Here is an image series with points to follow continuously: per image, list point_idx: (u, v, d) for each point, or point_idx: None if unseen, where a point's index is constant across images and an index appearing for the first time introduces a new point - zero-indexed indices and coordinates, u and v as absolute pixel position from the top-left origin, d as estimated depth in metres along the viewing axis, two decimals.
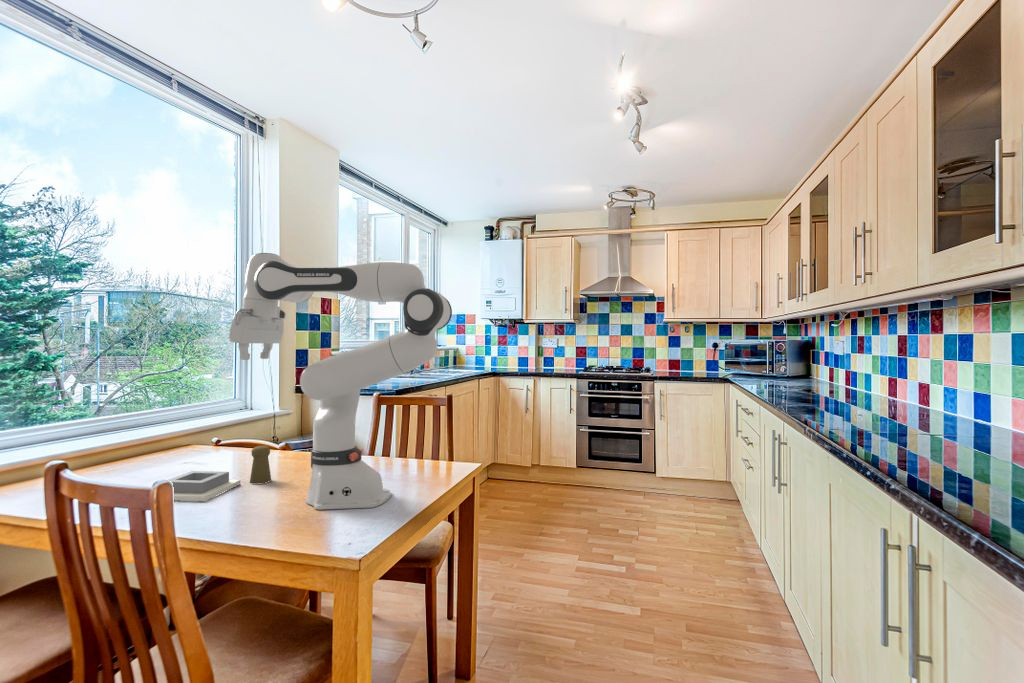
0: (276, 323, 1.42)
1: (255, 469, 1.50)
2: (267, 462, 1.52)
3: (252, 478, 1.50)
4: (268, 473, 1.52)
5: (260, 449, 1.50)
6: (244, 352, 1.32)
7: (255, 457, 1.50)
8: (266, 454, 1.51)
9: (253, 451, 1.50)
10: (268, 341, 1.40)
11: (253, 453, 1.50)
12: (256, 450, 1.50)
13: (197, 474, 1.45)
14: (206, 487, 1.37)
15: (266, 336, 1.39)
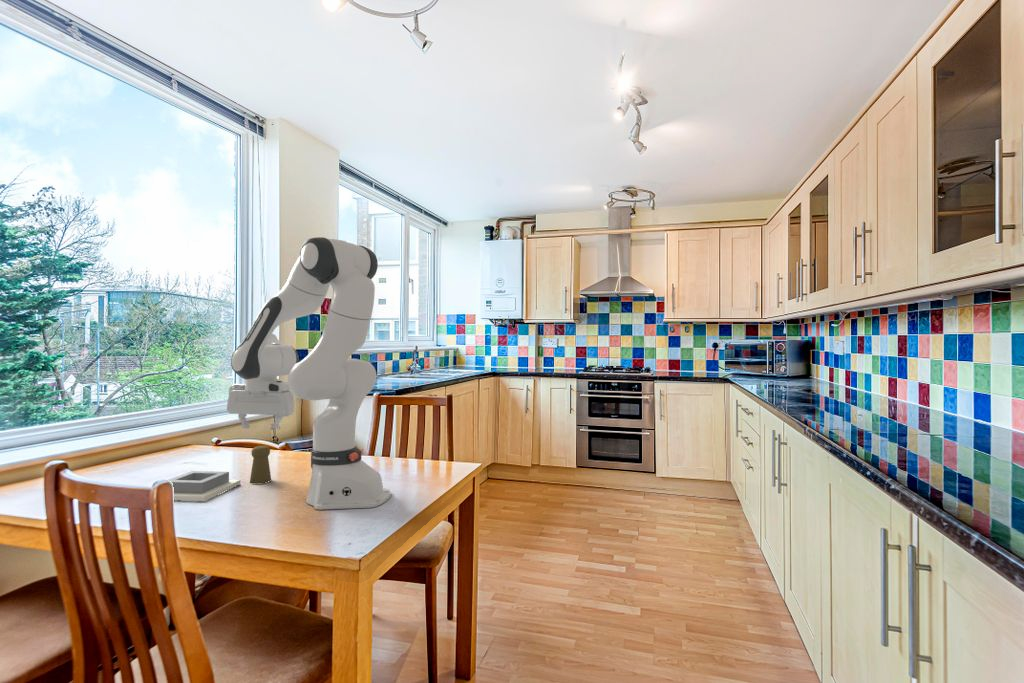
0: (273, 396, 1.50)
1: (255, 469, 1.50)
2: (267, 462, 1.52)
3: (252, 478, 1.50)
4: (268, 473, 1.52)
5: (260, 449, 1.50)
6: None
7: (255, 457, 1.50)
8: (266, 454, 1.51)
9: (253, 451, 1.50)
10: (265, 412, 1.51)
11: (253, 453, 1.50)
12: (256, 450, 1.50)
13: (197, 474, 1.45)
14: (206, 487, 1.37)
15: (262, 408, 1.51)
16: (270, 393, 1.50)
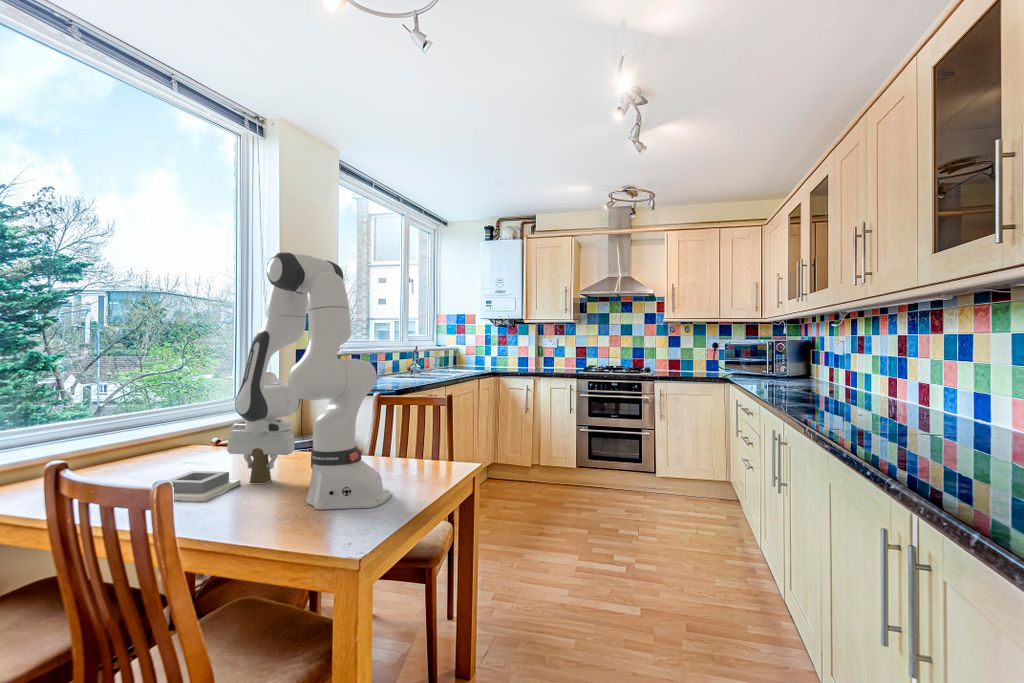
0: (273, 435, 1.50)
1: (255, 469, 1.50)
2: (267, 462, 1.52)
3: (252, 478, 1.50)
4: (268, 473, 1.52)
5: (260, 449, 1.50)
6: None
7: (255, 457, 1.50)
8: None
9: (253, 451, 1.50)
10: (265, 452, 1.50)
11: (253, 453, 1.50)
12: (256, 450, 1.50)
13: (197, 474, 1.45)
14: (206, 487, 1.37)
15: (262, 448, 1.51)
16: (270, 433, 1.49)
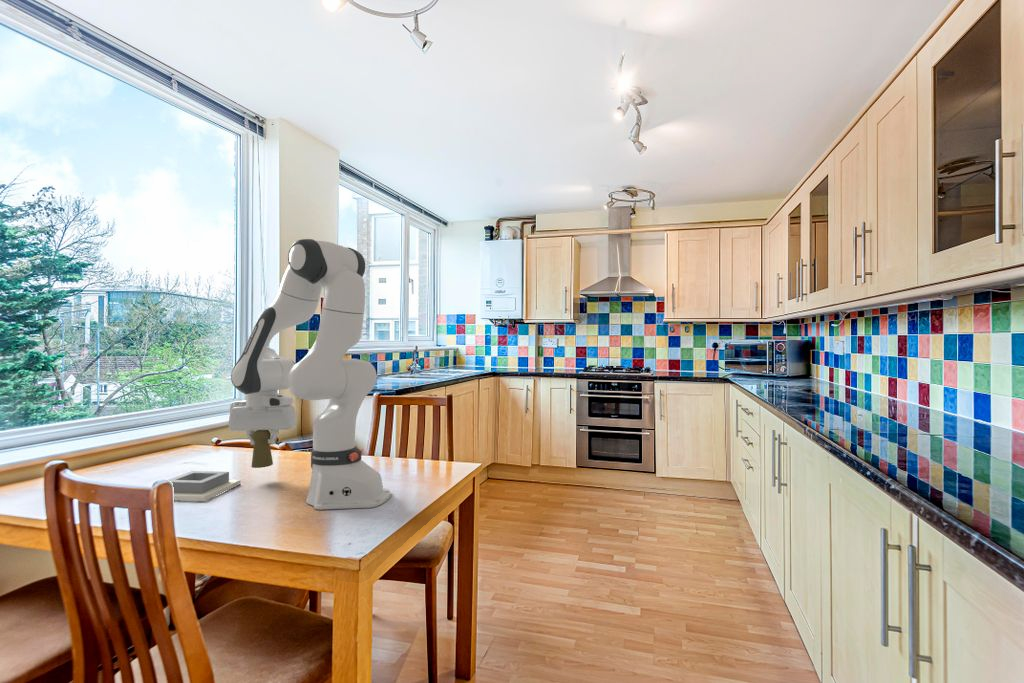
0: (274, 410, 1.50)
1: (256, 452, 1.49)
2: (268, 446, 1.51)
3: (253, 462, 1.49)
4: (269, 457, 1.51)
5: (260, 432, 1.50)
6: None
7: (256, 441, 1.49)
8: (267, 437, 1.50)
9: (253, 435, 1.49)
10: (267, 428, 1.50)
11: (253, 437, 1.49)
12: (256, 434, 1.49)
13: (197, 474, 1.45)
14: (206, 487, 1.37)
15: (263, 423, 1.50)
16: (271, 408, 1.49)
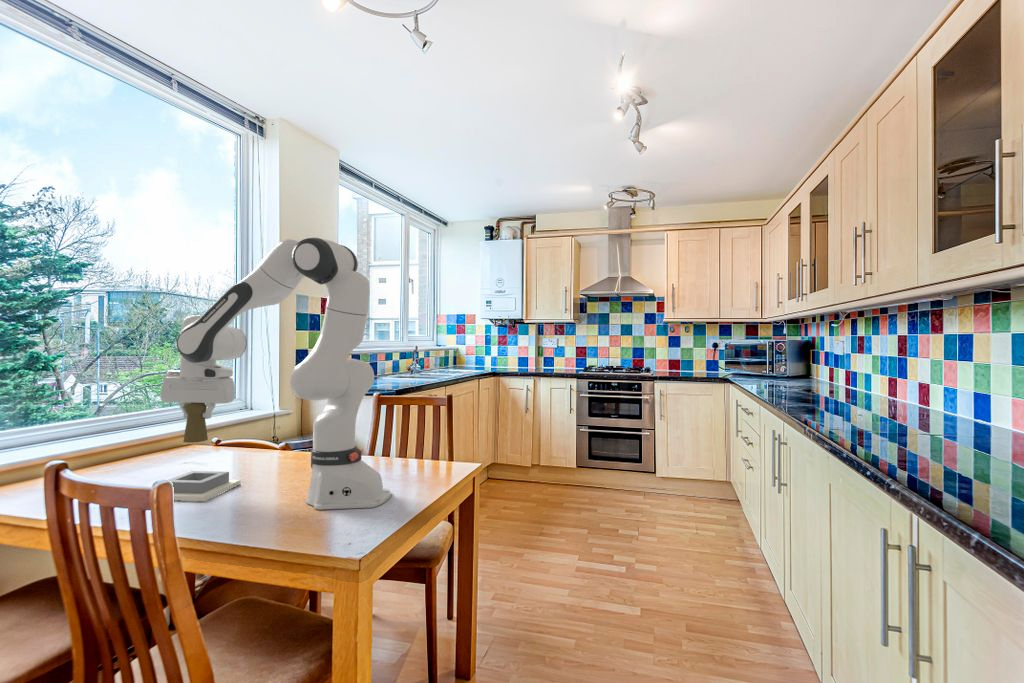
0: (210, 382, 1.39)
1: (188, 426, 1.38)
2: (203, 419, 1.41)
3: (185, 436, 1.38)
4: (204, 431, 1.40)
5: (194, 405, 1.39)
6: None
7: (189, 413, 1.39)
8: (201, 411, 1.40)
9: (187, 407, 1.39)
10: (201, 400, 1.39)
11: (187, 409, 1.39)
12: (190, 406, 1.38)
13: (197, 474, 1.45)
14: (206, 487, 1.37)
15: (198, 396, 1.39)
16: (206, 379, 1.38)
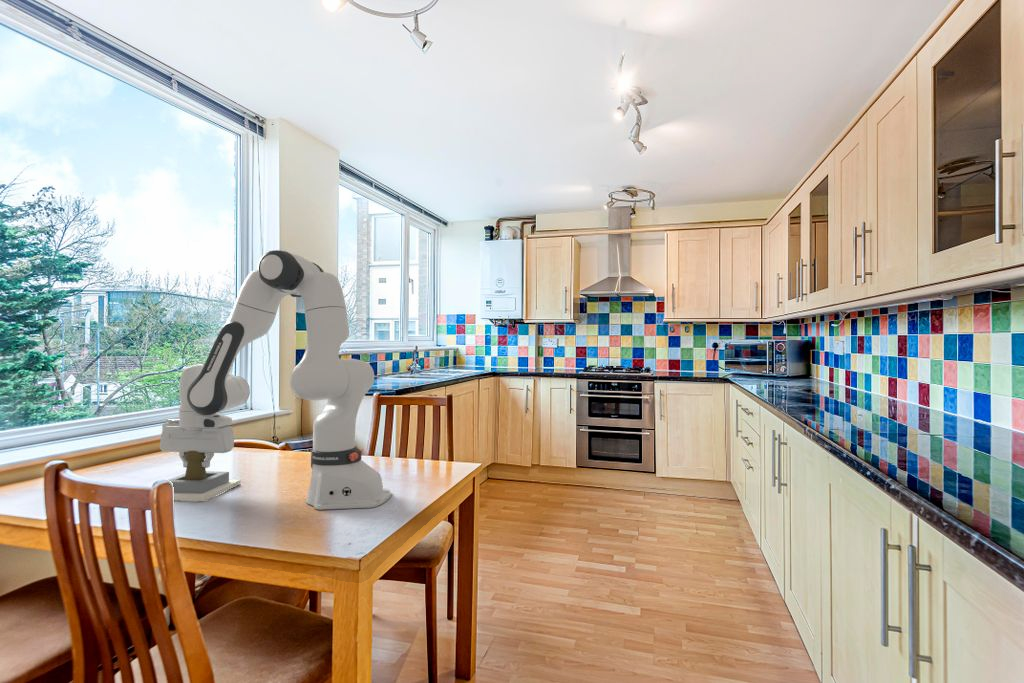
0: (209, 432, 1.39)
1: (188, 473, 1.38)
2: None
3: None
4: (203, 478, 1.40)
5: (194, 452, 1.39)
6: None
7: (189, 461, 1.39)
8: (201, 458, 1.40)
9: (187, 454, 1.39)
10: (201, 450, 1.39)
11: (187, 456, 1.39)
12: (190, 453, 1.39)
13: None
14: (206, 487, 1.37)
15: (197, 445, 1.39)
16: (206, 429, 1.38)
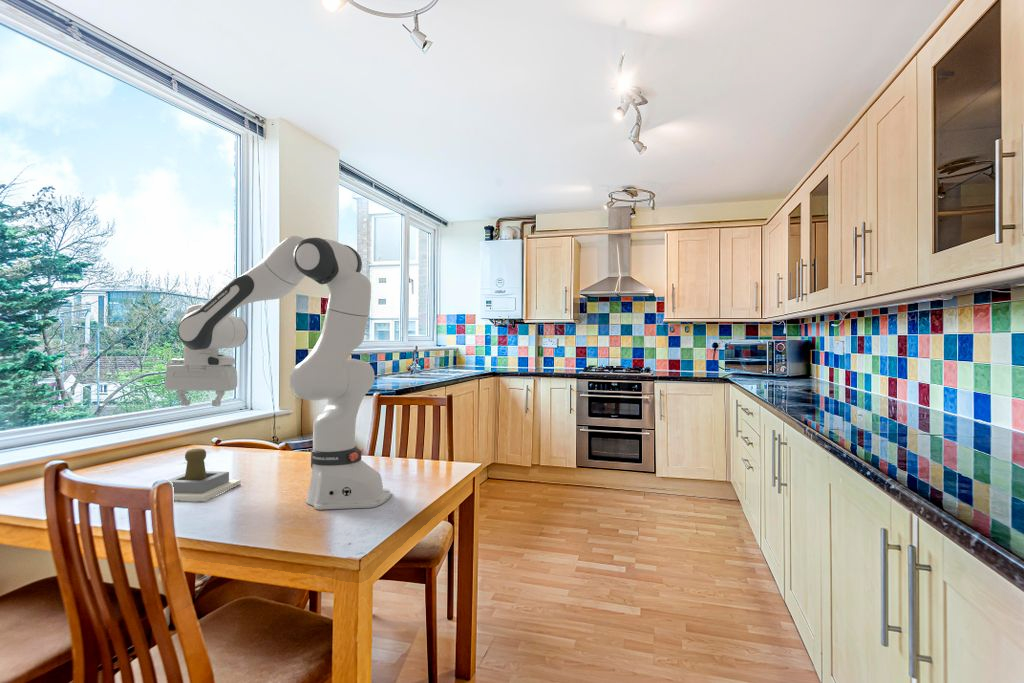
0: (213, 370, 1.41)
1: (188, 473, 1.38)
2: (202, 466, 1.41)
3: None
4: (203, 478, 1.40)
5: (194, 452, 1.39)
6: None
7: (188, 461, 1.39)
8: (201, 458, 1.40)
9: (186, 454, 1.39)
10: (205, 388, 1.42)
11: (186, 456, 1.39)
12: (189, 453, 1.39)
13: None
14: (206, 487, 1.37)
15: (201, 383, 1.42)
16: (210, 367, 1.41)
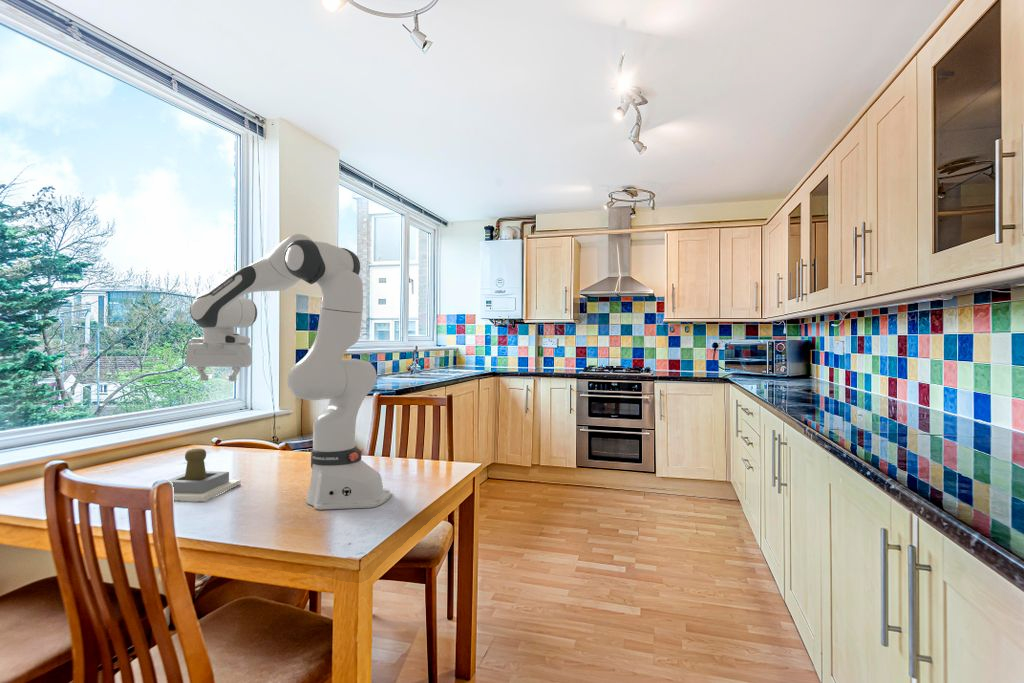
0: (230, 348, 1.54)
1: (188, 473, 1.38)
2: (202, 466, 1.41)
3: None
4: (203, 478, 1.40)
5: (194, 452, 1.39)
6: None
7: (188, 461, 1.39)
8: (201, 458, 1.40)
9: (186, 454, 1.39)
10: (222, 364, 1.55)
11: (186, 456, 1.39)
12: (189, 453, 1.39)
13: None
14: (206, 487, 1.37)
15: (219, 360, 1.55)
16: (227, 345, 1.53)
